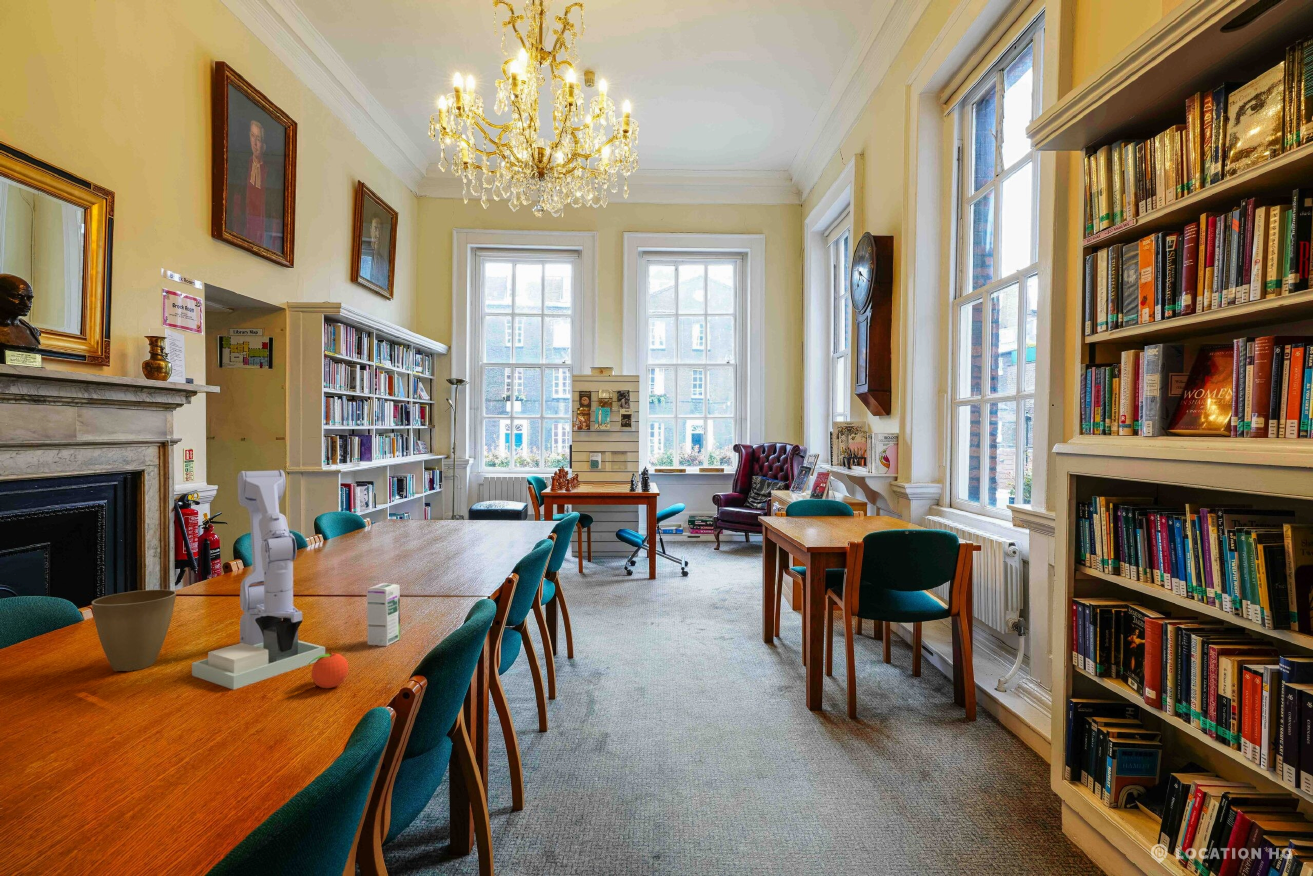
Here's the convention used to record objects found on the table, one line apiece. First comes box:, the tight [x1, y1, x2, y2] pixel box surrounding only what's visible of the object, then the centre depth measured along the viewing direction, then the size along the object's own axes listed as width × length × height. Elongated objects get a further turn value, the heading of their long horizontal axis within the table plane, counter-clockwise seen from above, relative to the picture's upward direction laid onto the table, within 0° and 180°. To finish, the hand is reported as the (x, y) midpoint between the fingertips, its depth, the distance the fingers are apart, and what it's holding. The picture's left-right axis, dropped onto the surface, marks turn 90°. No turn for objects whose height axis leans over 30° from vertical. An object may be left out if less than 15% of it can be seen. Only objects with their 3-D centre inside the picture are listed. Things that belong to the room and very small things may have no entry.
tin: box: [263, 627, 299, 663], centre depth 145 cm, size 5×5×7 cm
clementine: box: [306, 652, 349, 689], centre depth 131 cm, size 8×7×7 cm
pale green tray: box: [191, 639, 326, 691], centre depth 141 cm, size 16×20×4 cm
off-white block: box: [207, 642, 268, 674], centre depth 136 cm, size 10×7×5 cm
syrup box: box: [366, 582, 402, 647], centre depth 160 cm, size 6×6×14 cm
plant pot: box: [91, 589, 177, 672], centre depth 143 cm, size 15×15×16 cm
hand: (278, 648), depth 144 cm, fingers closed on tin, 5 cm apart
